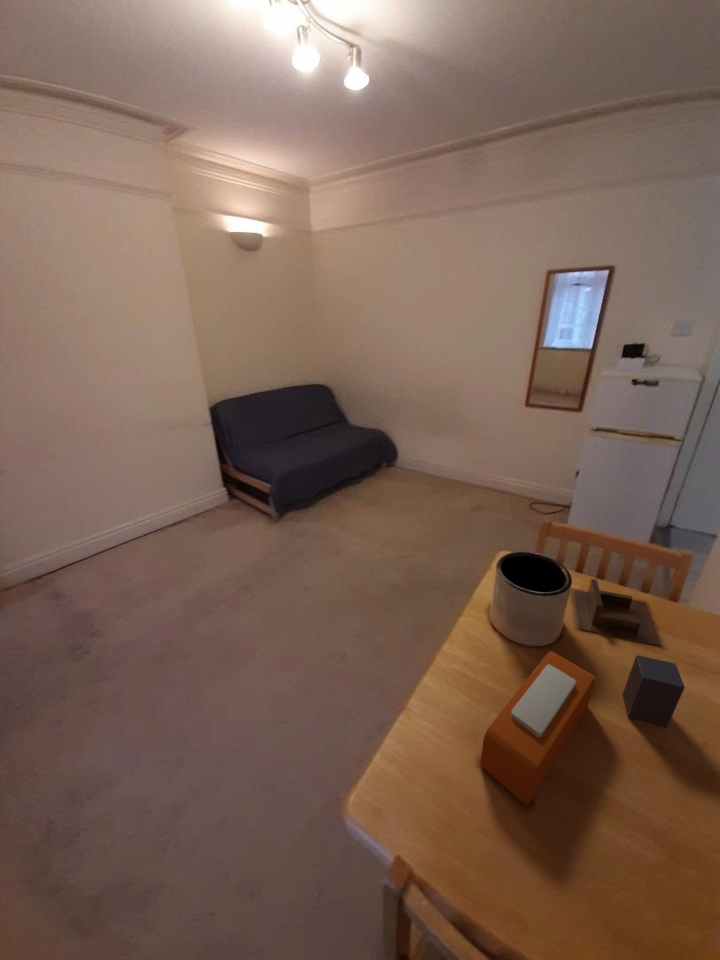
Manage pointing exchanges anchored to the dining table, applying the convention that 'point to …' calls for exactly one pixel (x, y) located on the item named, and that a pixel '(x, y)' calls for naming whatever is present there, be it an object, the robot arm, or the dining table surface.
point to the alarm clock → (536, 725)
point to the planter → (530, 598)
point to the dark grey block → (652, 691)
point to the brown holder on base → (614, 615)
